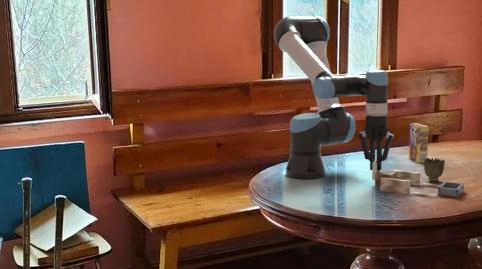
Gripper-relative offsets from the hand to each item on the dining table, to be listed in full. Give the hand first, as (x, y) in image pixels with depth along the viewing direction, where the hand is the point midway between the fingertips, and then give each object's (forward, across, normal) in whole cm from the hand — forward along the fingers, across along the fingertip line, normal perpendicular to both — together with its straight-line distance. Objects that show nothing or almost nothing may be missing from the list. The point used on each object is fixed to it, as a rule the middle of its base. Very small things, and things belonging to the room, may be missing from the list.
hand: (375, 179), depth 225 cm
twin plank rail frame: (+2, +14, 0) cm, 14 cm away
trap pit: (+2, +26, +1) cm, 26 cm away
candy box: (+2, +3, +44) cm, 44 cm away
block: (+2, +4, 0) cm, 4 cm away
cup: (+2, +17, +14) cm, 22 cm away
